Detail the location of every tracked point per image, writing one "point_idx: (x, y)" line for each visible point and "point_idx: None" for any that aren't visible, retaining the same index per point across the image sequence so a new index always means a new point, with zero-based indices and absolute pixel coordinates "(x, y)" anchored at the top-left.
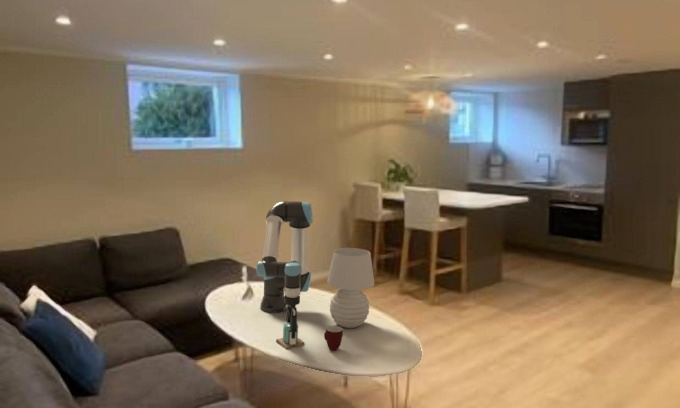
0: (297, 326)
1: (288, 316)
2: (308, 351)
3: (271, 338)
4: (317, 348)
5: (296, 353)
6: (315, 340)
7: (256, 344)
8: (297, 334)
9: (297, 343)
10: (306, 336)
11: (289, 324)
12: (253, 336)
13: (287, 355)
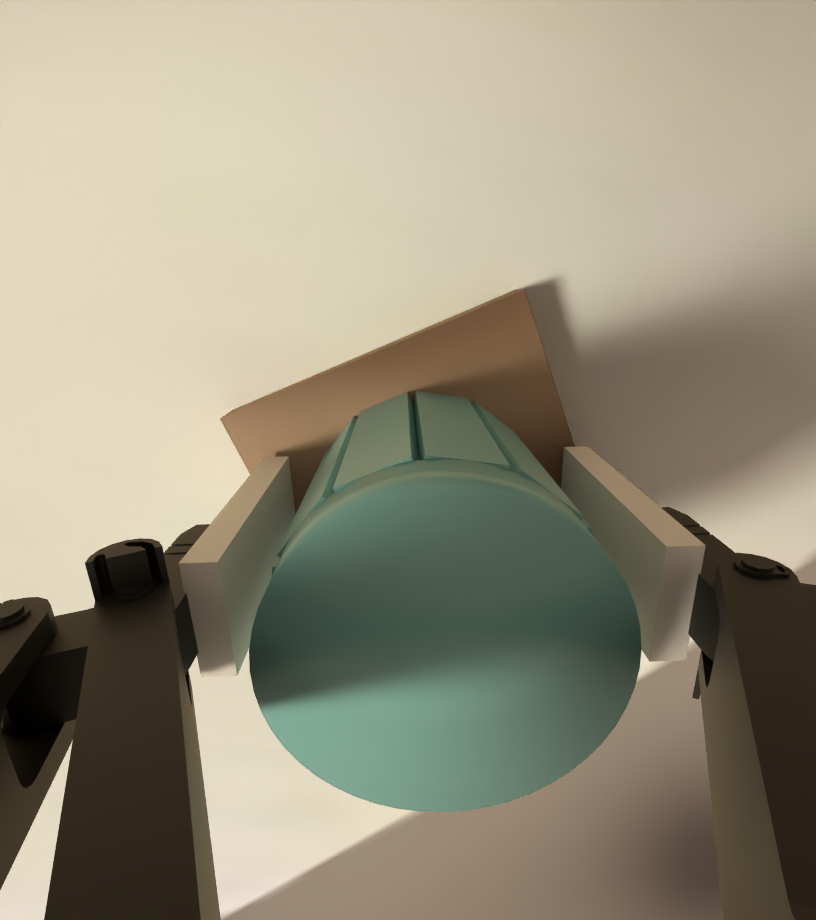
0: (561, 513)
1: (217, 908)
2: (763, 268)
3: (248, 677)
4: (703, 85)
5: (766, 449)
6: (364, 47)
7: (404, 816)
8: (501, 436)
9: (540, 409)
10: (179, 191)
11: (401, 693)
12: None
13: (781, 560)
